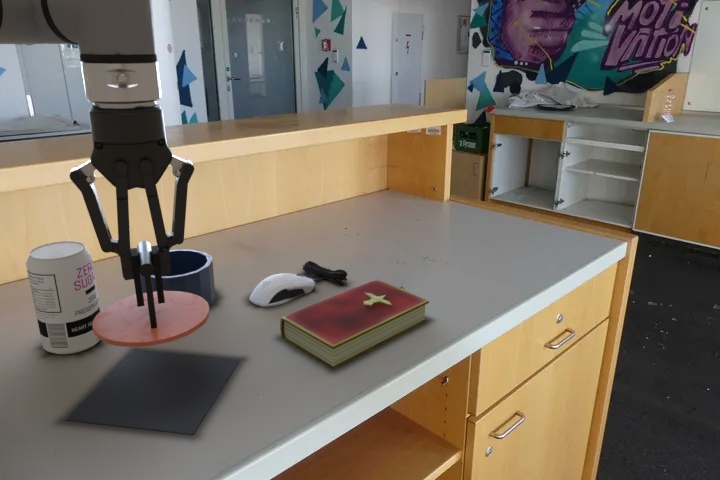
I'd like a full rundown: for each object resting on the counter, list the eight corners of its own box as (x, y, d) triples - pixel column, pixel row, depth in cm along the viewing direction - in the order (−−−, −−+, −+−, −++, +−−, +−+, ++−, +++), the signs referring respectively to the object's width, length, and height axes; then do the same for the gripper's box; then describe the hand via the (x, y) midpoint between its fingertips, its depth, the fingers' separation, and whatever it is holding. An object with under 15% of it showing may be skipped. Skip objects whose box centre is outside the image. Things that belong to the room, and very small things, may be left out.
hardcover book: (280, 339, 85) (279, 314, 83) (375, 298, 99) (375, 276, 97) (333, 371, 77) (333, 345, 75) (427, 322, 91) (429, 299, 89)
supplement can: (45, 335, 84) (27, 243, 79) (104, 325, 87) (90, 237, 82) (40, 362, 77) (19, 264, 72) (104, 351, 80) (89, 255, 75)
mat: (65, 422, 66) (65, 419, 65) (135, 351, 80) (134, 349, 80) (193, 437, 64) (193, 434, 63) (240, 361, 78) (240, 359, 78)
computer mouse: (237, 297, 98) (236, 277, 96) (314, 269, 110) (314, 251, 109) (272, 317, 91) (271, 295, 90) (349, 285, 104) (350, 265, 102)
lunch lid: (91, 361, 60) (77, 281, 57) (96, 308, 72) (84, 239, 69) (217, 339, 65) (211, 264, 62) (202, 292, 77) (197, 228, 74)
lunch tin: (139, 325, 88) (134, 282, 85) (137, 293, 99) (132, 254, 96) (220, 312, 92) (216, 271, 90) (209, 283, 103) (206, 245, 101)
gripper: (44, 110, 54) (82, 324, 62) (199, 105, 59) (216, 303, 67) (52, 102, 60) (86, 296, 68) (192, 98, 65) (208, 279, 73)
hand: (150, 299), depth 67 cm, fingers closed on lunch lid, 2 cm apart
